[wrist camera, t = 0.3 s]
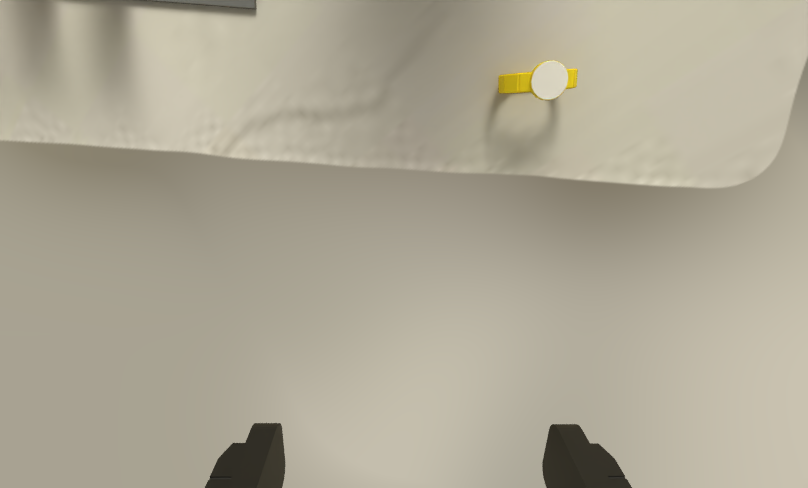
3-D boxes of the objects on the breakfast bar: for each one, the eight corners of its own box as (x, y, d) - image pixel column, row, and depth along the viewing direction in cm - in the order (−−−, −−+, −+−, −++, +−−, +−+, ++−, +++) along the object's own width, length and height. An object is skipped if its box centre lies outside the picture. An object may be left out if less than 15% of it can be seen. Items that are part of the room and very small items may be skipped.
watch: (493, 101, 37) (506, 103, 31) (493, 67, 36) (506, 63, 30) (562, 95, 36) (587, 97, 31) (564, 61, 35) (590, 56, 30)
